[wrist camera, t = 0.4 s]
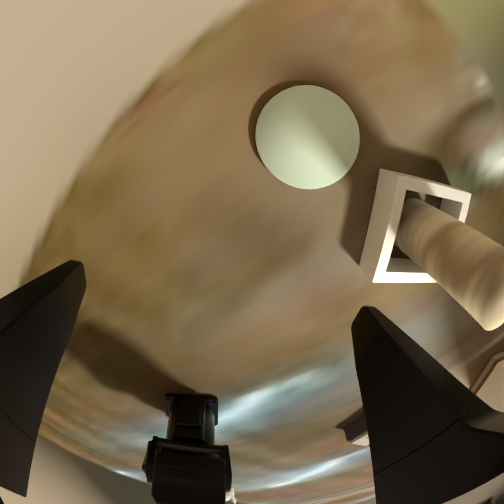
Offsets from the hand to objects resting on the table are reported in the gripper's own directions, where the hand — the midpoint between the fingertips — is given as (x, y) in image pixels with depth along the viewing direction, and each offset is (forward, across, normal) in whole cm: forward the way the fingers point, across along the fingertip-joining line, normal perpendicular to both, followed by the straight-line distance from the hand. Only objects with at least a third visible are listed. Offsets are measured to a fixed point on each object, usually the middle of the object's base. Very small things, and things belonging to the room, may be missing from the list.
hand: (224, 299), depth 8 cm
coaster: (+15, -5, -4) cm, 16 cm away
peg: (+14, -17, +1) cm, 22 cm away
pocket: (+14, -17, +1) cm, 22 cm away
